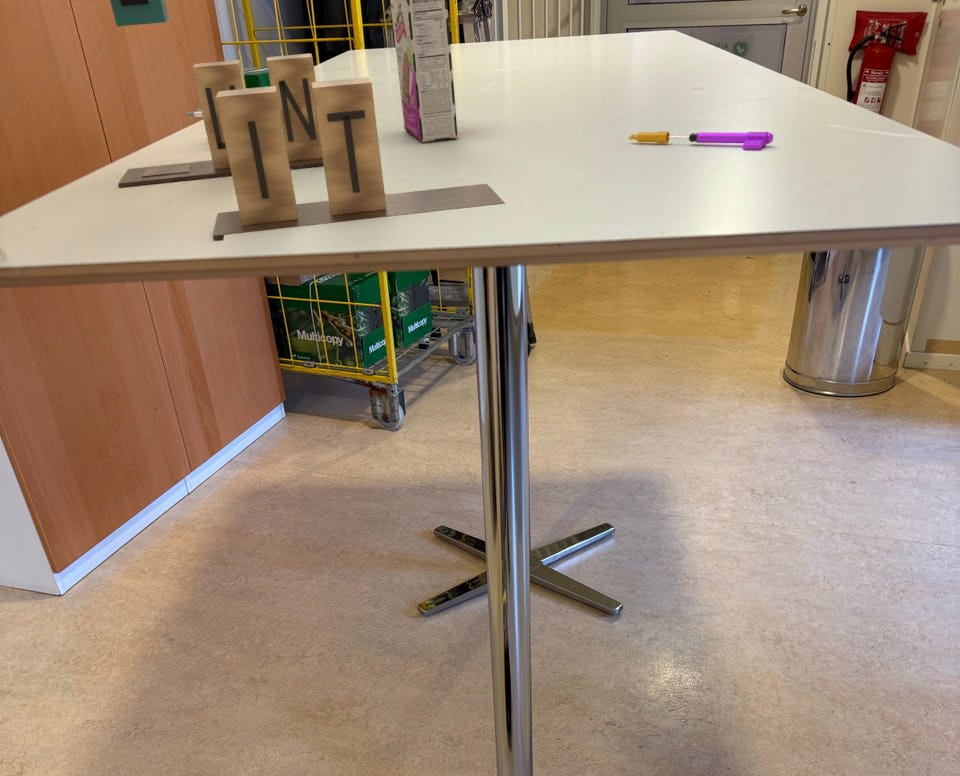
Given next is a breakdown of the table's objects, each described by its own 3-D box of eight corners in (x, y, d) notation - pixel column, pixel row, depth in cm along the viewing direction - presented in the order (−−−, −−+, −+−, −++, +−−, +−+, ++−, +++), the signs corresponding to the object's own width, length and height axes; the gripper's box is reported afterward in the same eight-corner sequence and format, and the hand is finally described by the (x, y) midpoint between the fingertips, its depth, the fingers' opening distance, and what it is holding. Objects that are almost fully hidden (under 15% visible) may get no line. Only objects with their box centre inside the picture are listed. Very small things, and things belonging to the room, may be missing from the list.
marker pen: (774, 141, 97) (632, 140, 104) (774, 129, 96) (631, 129, 103) (766, 153, 96) (623, 150, 103) (766, 141, 95) (622, 139, 102)
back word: (118, 187, 102) (88, 79, 96) (128, 172, 109) (101, 70, 103) (350, 162, 105) (336, 56, 99) (345, 150, 112) (332, 49, 106)
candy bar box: (401, 131, 121) (385, -22, 111) (438, 126, 122) (426, -26, 112) (419, 144, 112) (404, -21, 102) (459, 139, 113) (447, -25, 103)
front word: (213, 240, 80) (182, 103, 74) (218, 217, 87) (190, 90, 81) (505, 207, 83) (499, 72, 76) (487, 187, 90) (480, 63, 83)
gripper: (88, -343, 75) (166, 4, 89) (118, -297, 88) (182, -3, 103) (-7, -339, 74) (87, 10, 88) (38, -293, 88) (113, 3, 102)
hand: (138, 3), depth 95 cm, fingers closed on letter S, 4 cm apart
